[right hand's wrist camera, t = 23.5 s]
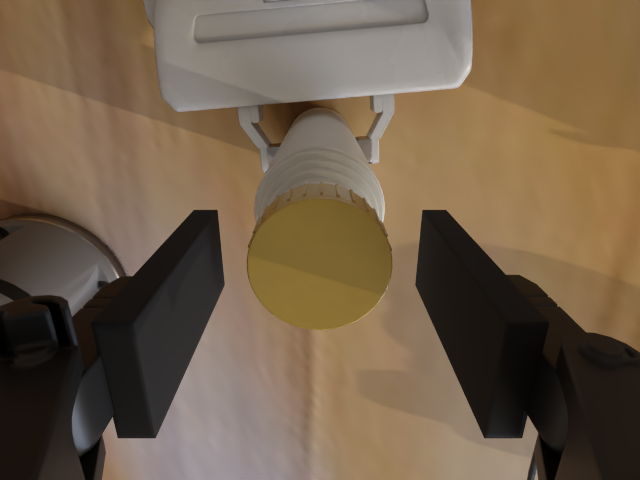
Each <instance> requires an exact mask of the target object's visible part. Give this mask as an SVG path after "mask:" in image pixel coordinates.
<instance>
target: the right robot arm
mask: <svg viewBox="0 0 640 480" xmlns="http://www.w3.org/2000/svg"><path fill="white" fill-rule="evenodd" d="M224 285H225V284H224V274H223V263H222V253H221V242H220V232H219V221H218V211H217V210H194V211H193V212H192V213H191V214H190V215H189V216H188V217H187V218H186V219H185V220H184V221H183V223H182V224H181V225H180V226H179V227H178V228H177V229H176V230H175V231H174V232H173V233H172V234H171V236H170V237H169V238H168V239H167V240H166V241H165V242H164V243H163V244H162V245H161V246H160V248H159V249H158V250H157V251H156V252H155V253H154V254H153V255H152V256H151V257H150V258H149V259H148V261H147V262H146V263H145V264H144V265H143V266H142V267H141V268H140V269H139V270H138V271H137V272H136V274H135V275H134V276H126V274H125V272H124V270H123V268H122V266H121V264H120V262H119V261H118V259H117V258H116V256H115V255H114V254H113V252H112V251H111V250H110V249H109V248H108V247H107V246H106V245H105V244H104V243H103V242H102V241H101V240H100V239H99V238H97V237H96V236H95V235H93V234H92V233H91V232H89V231H88V230H86V229H84V228H83V227H81V226H79V225H77V224H75V223H73V222H70V221H68V220H65V219H62V218H58V217H55V216H50V215H43V214H22V215H16V216H12V217H8V218H6V219H3V220H1V221H0V480H102V474H103V468H104V461H105V454H106V451H105V444H104V440H103V436H102V433H103V432H104V430H105V428H106V427H107V425H108V423H109V422H110V420H111V418H112V417H113V419H114V424H115V428H116V432H117V436H118V438H156V436H157V434H158V431H159V429H160V427H161V425H162V423H163V420H164V418H165V416H166V414H167V411H168V409H169V407H170V405H171V403H172V400H173V398H174V396H175V394H176V392H177V389H178V387H179V385H180V383H181V380H182V378H183V376H184V374H185V372H186V369H187V367H188V365H189V363H190V360H191V358H192V356H193V354H194V352H195V349H196V347H197V345H198V343H199V341H200V338H201V336H202V334H203V332H204V329H205V327H206V325H207V323H208V321H209V318H210V316H211V314H212V312H213V309H214V307H215V305H216V303H217V301H218V298H219V296H220V294H221V292H222V290H223V287H224ZM415 285H416V287H417V290H418V292H419V294H420V296H421V298H422V301H423V303H424V305H425V307H426V309H427V312H428V314H429V316H430V318H431V321H432V323H433V325H434V327H435V329H436V332H437V334H438V336H439V338H440V341H441V343H442V345H443V347H444V349H445V352H446V354H447V356H448V358H449V360H450V363H451V365H452V367H453V369H454V372H455V374H456V376H457V378H458V380H459V383H460V385H461V387H462V389H463V392H464V394H465V396H466V398H467V400H468V403H469V405H470V407H471V409H472V412H473V414H474V416H475V418H476V420H477V423H478V425H479V427H480V429H481V431H482V434H483V436H484V438H522V436H523V432H524V428H525V424H526V419H527V415H528V416H529V418H530V419H531V421H532V423H533V424H534V426H535V428H536V429H537V431H538V436H537V440H536V444H535V448H534V452H533V456H532V460H531V464H530V468H529V471H528V478H527V480H534V478H535V474H536V473H538V480H640V353H639V352H638V351H637V350H635V349H633V348H632V347H630V346H629V345H627V344H626V343H623V342H621V341H618V340H616V339H614V338H611V337H608V336H604V335H600V334H596V333H587V332H585V331H584V330H583V329H582V328H581V327H580V326H579V325H578V324H577V323H576V322H575V321H574V320H573V319H572V318H571V317H570V316H569V315H568V314H567V313H566V312H564V311H563V310H562V309H561V308H560V307H557V304H556V303H555V302H554V301H553V300H552V299H551V298H550V297H548V295H547V294H546V293H545V292H544V291H543V290H542V289H541V288H540V287H539V286H538V285H537V284H535V283H533V282H531V281H529V280H528V279H526V278H524V277H522V276H520V275H505V274H504V272H503V271H502V270H501V269H500V268H499V267H498V266H497V265H496V264H495V263H494V262H493V261H492V259H491V258H490V257H489V256H488V255H487V254H486V253H485V252H484V251H483V250H482V249H481V248H480V246H479V245H478V244H477V243H476V242H475V241H474V240H473V239H472V238H471V237H470V236H469V234H468V233H467V232H466V231H465V230H464V229H463V228H462V227H461V226H460V225H459V224H458V223H457V221H456V220H455V219H454V218H453V217H452V216H451V215H450V214H449V213H448V212H447V211H446V210H423V211H422V221H421V232H420V242H419V253H418V263H417V274H416V284H415Z"/></svg>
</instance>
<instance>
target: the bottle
mask: <svg viewBox="0 0 640 480" xmlns="http://www.w3.org/2000/svg"><path fill="white" fill-rule="evenodd" d="M320 182H323V184H331V185H336V184H338V186H340V187H343V188H346V189H348V190H350V189H352V190H353V192H354V193H355V194H357V195H358V196H360V197H361V198H363V197H364V198H365V199H366V202H367V203H368V204H369V205H370V206H371V208H372V209H373V208H375V210H376V213H377V215H378V217H379V220H380V221H381V220H382V223H383V220H384V213H385V203H384V196H383V192H382V189H381V186H380V184H379V181H378V179H377V178H376V176H375V174H374V172H373V170H372V168H371V166H370V165H369V163H368V161H367V159H366V157H365V155H364V154H363V152H362V150H361V148H360V146H359V144H358V142H357V141H356V139H355V137H354V135H353V133H352V131H351V130H350V128H349V126H348V124H347V122H346V121H345V120H344V118H343V117H342V116H341V115H340V114H338V113H337V112H335V111H333V110H331V109H327V108H312V109H309V110H306V111H305V112H303V113H301V114H300V115H299V116H298V117H297V118H296V119H295V120H294V122H293V123H292V125H291V127H290V129H289V131H288V132H287V134H286V136H285V138H284V140H283V142H282V143H281V145H280V147H279V149H278V151H277V153H276V154H275V156H274V158H273V160H272V162H271V164H270V165H269V167H268V169H267V171H266V173H265V175H264V176H263V178H262V180H261V182H260V184H259V187H258V190H257V193H256V198H255V218H256V223H257V221H258V219H259V217H260V218H261V217H262V215H263V213H264V210H265V208H266V206H267V205H268V206H270V204H271V203H272V202H273V201H274V200H275V199H276V197H277V196H278V195H279V196H281V195H282V194H284V193H285V192H287V191H289V189H290V188H292V189H294V188H296V187H299V186H303V185H304V183H307V185H308V184H317V183H320Z"/></svg>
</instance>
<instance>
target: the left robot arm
mask: <svg viewBox="0 0 640 480" xmlns="http://www.w3.org/2000/svg"><path fill="white" fill-rule="evenodd" d="M143 2H144V6H145V11H146V15H147V18H148V21H149V23H150V24H151V26H152V27H153V29H154V46H155V58H156V67H157V75H158V82H159V88H160V93H161V96H162V98H163V99H164V101H165V102H166V103H167V104H168V105H169V106H170V107H171V108H173V109H174V110H175V111H177V112H184V111H195V110H207V109H219V108H231V107H237V109H238V116H239V123H240V126H241V127H242V128H243V130H244V131H245V132H246V134H247V135H248V136H249V138H250V139H251V140H252V141H253V143H254V144H255V145H256V147H257V148H259V149H260V156H261V164H262V170H263V172H266V171H267V169H268V167H269V165H270V164H271V162H272V160H273V158H274V156H275V154H276V153H277V151H278V149H279V147H280V145H281V143H273V144H271V142H270V141H269V139H268V138H267V136H266V135H265V133H264V132H263V131H262V129H261V128H260V126H259V125H258V123H259V122H260V121H261V120H262V119H263V110H262V105H266V104H278V103H290V102H301V101H313V100H325V99H337V98H348V97H360V96H370V109H371V110H372V111H374V112H375V113H377V115H376V117H375V119H374V121H373V123H372V125H371V127H370V129H369V131H368V133H367V136H360V137H356V141H357V142H358V144H359V146H360V148H361V150H362V152H363V154H364V155H365V157H366V159H367V161H368V163H369V164H373V163H379V138H381V136H382V134H383V132H384V130H385V129H386V127H387V125H388V123H389V121H390V119H391V117H392V115H393V113H394V94H395V93H407V92H419V91H431V90H442V89H454V88H458V87H459V86H460V85H461V84H462V83H463V82H464V80H465V79H466V77H467V76H468V74H469V73H470V71H471V67H472V54H473V29H472V10H471V0H143Z"/></svg>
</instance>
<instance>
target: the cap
mask: <svg viewBox="0 0 640 480" xmlns="http://www.w3.org/2000/svg"><path fill="white" fill-rule="evenodd" d="M387 236H388V235H387V232H386V230H385V228H384V225H383V223H382V220H381V221H380V220H379V217H378V215H377V213H376V210H375V208H373V209H372V208H371V206H370V205H369V204H368V203H367V202H366V199H365V198H364V197H363V198H361V197H360V196H358V195H357V194H355V193H354V192H353V190H352V189H350V190H348V189H346V188H343V187H340V186H338V184H336V185H331V184H323V182H320V183H317V184H308V185H307V183H304V185H303V186H299V187H296V188H294V189H292V188H290V189H289V191H287V192H285V193H284V194H282V195H281V196H279V195H278V196H277V197H276V199H275V200H274V201H273V202H272V203H271V204H270V206H268V205H267V206H266V208H265V210H264V213H263V215H262V217H261V218H260V217H259V219H258V221H257V223H256V226H255V228H254V231H253V235H252V238H251V240H250V242H249V245H248V248H249V250H248V256H247V272H248V278H249V281H250V284H251V287H252V289H253V291H254V293H255V295H256V296H257V298H258V300H259V301H260V302H261V303H262V305H263V306H264V307H265V308H266V309H267V310H268V311H269V312H270V313H272V314H273V315H274V316H276V317H277V318H279V319H281V320H282V321H284V322H286V323H289V324H291V325H294V326H297V327H300V328H305V329H311V330H327V329H334V328H339V327H342V326H346V325H348V324H351V323H353V322H355V321H357V320H359V319H360V318H362V317H363V316H365V315H366V314H367V313H369V312H370V311H371V310H372V309H373V308H374V307H375V306H376V305H377V304H378V302H379V301H380V300H381V298H382V297H383V295H384V293H385V292H386V290H387V287H388V285H389V282H390V278H391V273H392V255H391V251H392V249H391V246H390V244H389V241H388V239H387Z"/></svg>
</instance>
